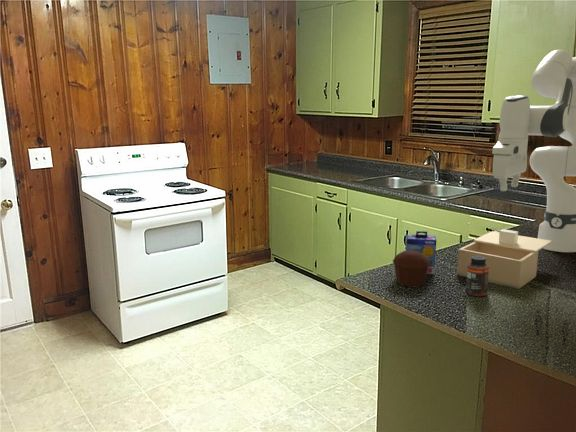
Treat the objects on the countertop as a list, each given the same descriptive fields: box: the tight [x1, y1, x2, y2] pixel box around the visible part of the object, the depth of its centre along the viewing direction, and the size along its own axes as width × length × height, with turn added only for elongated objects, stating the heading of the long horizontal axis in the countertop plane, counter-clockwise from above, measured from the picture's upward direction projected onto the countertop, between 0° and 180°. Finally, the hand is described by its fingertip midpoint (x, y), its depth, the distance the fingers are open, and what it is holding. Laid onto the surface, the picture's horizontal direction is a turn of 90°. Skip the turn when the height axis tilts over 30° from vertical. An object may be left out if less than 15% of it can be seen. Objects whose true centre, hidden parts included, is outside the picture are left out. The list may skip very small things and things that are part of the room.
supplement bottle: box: [465, 256, 489, 297], centre depth 152 cm, size 6×6×11 cm
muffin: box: [392, 250, 430, 287], centre depth 163 cm, size 12×11×10 cm
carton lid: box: [473, 228, 552, 253], centre depth 175 cm, size 16×20×5 cm
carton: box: [456, 241, 539, 290], centre depth 168 cm, size 15×20×9 cm
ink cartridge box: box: [405, 230, 437, 275], centre depth 173 cm, size 10×6×14 cm, turn 79°
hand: (509, 188), depth 169 cm, fingers open, 8 cm apart
